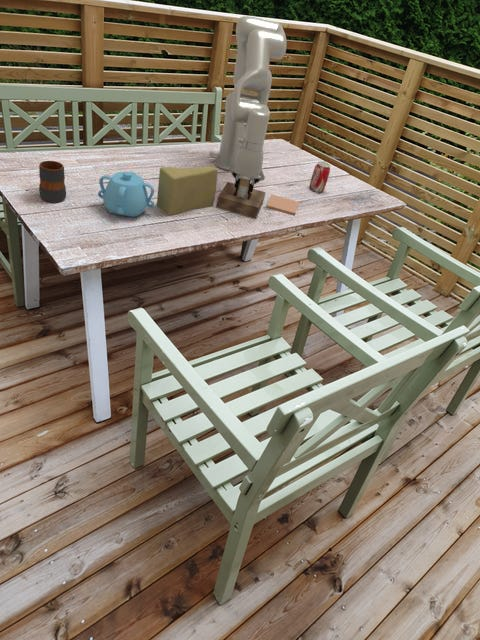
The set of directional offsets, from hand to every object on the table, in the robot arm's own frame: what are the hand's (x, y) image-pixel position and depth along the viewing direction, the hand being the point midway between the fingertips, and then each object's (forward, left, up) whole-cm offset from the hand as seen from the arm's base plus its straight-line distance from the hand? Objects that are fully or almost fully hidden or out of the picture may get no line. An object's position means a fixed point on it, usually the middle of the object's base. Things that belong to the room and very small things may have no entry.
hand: (243, 191), depth 189 cm
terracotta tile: (+16, +10, -6) cm, 20 cm away
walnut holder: (0, 0, -6) cm, 6 cm away
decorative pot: (-36, -29, -6) cm, 47 cm away
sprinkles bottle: (0, 0, -6) cm, 6 cm away
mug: (-61, -34, -6) cm, 70 cm away
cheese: (-17, -14, -6) cm, 23 cm away
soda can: (+28, +37, -6) cm, 47 cm away
